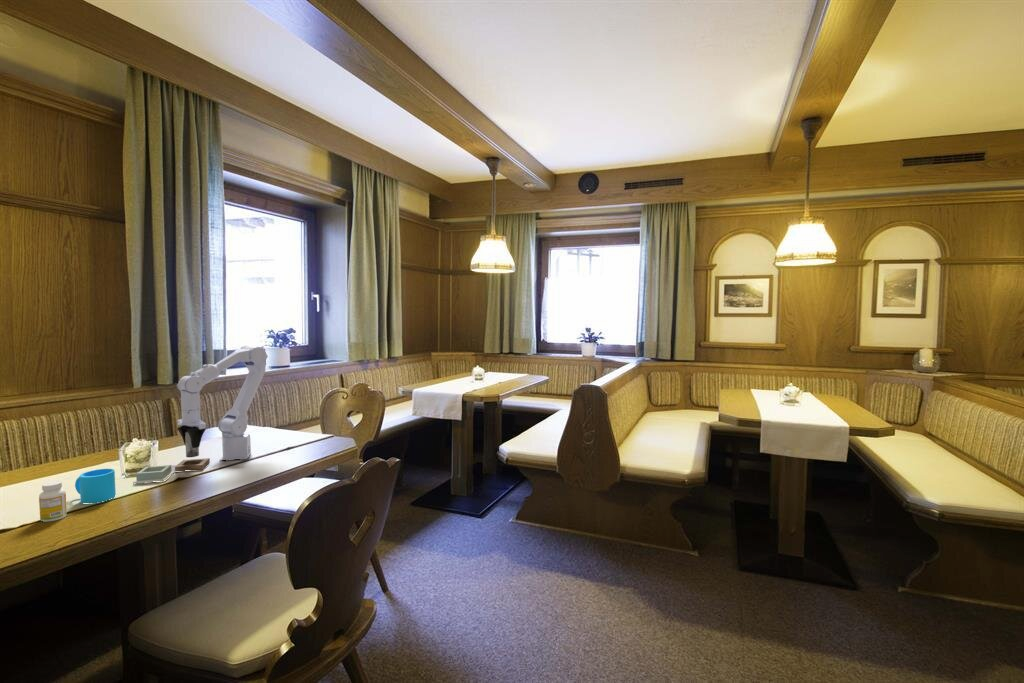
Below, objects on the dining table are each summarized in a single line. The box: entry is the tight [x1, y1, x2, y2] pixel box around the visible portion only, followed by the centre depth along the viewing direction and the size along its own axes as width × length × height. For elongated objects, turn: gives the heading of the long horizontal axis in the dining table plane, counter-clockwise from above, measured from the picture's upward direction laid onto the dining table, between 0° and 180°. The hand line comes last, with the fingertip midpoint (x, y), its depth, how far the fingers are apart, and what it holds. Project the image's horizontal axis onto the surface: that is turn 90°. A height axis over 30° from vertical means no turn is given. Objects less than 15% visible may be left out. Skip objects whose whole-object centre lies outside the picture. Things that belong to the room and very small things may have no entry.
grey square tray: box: [132, 464, 176, 485], centre depth 170 cm, size 9×9×3 cm
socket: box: [174, 457, 211, 471], centre depth 182 cm, size 9×9×2 cm
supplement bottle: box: [38, 480, 68, 523], centre depth 137 cm, size 5×5×10 cm
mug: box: [74, 468, 117, 504], centre depth 151 cm, size 12×8×8 cm
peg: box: [185, 431, 200, 458], centre depth 181 cm, size 4×4×9 cm
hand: (192, 446), depth 181 cm, fingers closed on peg, 4 cm apart
